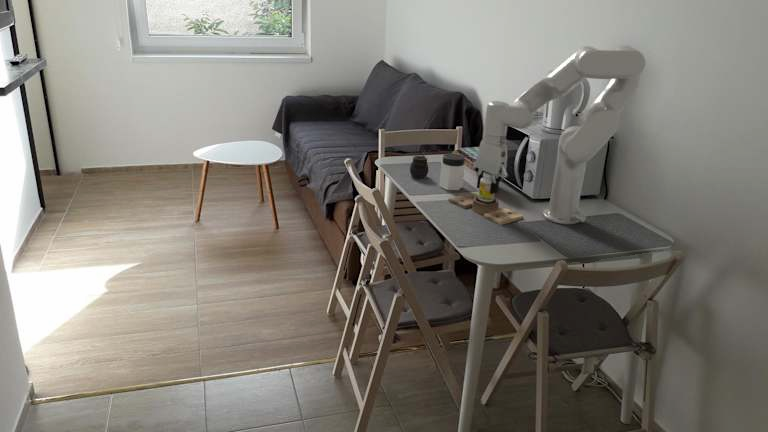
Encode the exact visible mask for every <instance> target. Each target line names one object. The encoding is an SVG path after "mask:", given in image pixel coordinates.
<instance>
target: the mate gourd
mask: <svg viewBox="0 0 768 432" xmlns="http://www.w3.org/2000/svg"><path fill="white" fill-rule="evenodd" d="M425 154H426V150H423V153H422V155H414V156H412V162H411V163H410V165H409V172H410V175H411V177H413V178H414V179H425V178H426V177H427V176H428V174H429V165H428V157H427V156H425Z"/></svg>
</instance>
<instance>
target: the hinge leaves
mask: <svg viewBox="0 0 768 432" xmlns="http://www.w3.org/2000/svg"><path fill="white" fill-rule="evenodd" d="M499 201H500V200H499V199H498V198H496V197H494V200H493V201H491V202H485V201H481V200H479V198H478V195H476V194H474V193H471V192H469V193H466V194H461V195H457V196H454V197H449V198H448V202H449V203H451V204H454V205H456V206H458V207H461V208H463V209H467V208H471V207H472V209H471V210H472V211H473V212H476V213H477V214H479V215H480V214H481V215H483V216H482V217H483V218H485V219H488V220H490V221H492V222H493V223H496V224H499V225H501V226H502V225H506V224H508V223H513V222H515V221H518V220H523V219H524V215H523V214H521V213H519V212H516V211H513V210H511V209H508V208H506V207H504V208H501V209H499V205H500V202H499Z"/></svg>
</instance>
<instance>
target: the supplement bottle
mask: <svg viewBox="0 0 768 432" xmlns="http://www.w3.org/2000/svg"><path fill="white" fill-rule="evenodd" d="M492 182H493V177H492V174H491V173H488V172H486V171H485V172H483V177H482V178H481V180H480V187H479V188H478V194H477V196H478V198H479V200H481V201H485V202H491V201H493V200H494V198H495V194H496V193H494V194H491V193H490V189H491V183H492Z"/></svg>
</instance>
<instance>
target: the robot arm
mask: <svg viewBox="0 0 768 432" xmlns="http://www.w3.org/2000/svg"><path fill="white" fill-rule="evenodd" d="M645 68H646V57H645V56H644V54H643V53H642V52H640V50H638V49H636V48H634V47H633V46H630V45H621V46H619V47H617V48H615V49H613V50H612V49H610V50H608V49H607V50H605V49H598V48H597V49H596V48H595V47H592V46H590V45H589V46H587V45H586V46H583V47H580V48H579V49H578V50H576V51H575V52H574V53H573V54H571V55H570V56H569V57H568V58H567V59H565V60H564V61H563V62H562V63H561V64H560V65H558V66H557V67H555V69H554V70H553V71H551V72H550V73H549V74H548V75H547V76H545V77H544V78H542V79H541V80H539V81H538V82H537V83H535V84H533V85H532V86H530V87H529V88H528V89H527V90H525V91H524V92H523V93H522V94H521V95H520V96H518V97H517V98H516V99H514V101H513V102H512V103H511V104H509V103H508V102H505V101H500V100H492V101H489V102H488V103H487V104H486V109H485V118H484V127H483V132H482V139H481V141H480V143H479V147H478V151H477V155H476V159H475V161H474V162H472V166H473V168H474V170H475V173H476V177H477V183H476V188H477V189H479V187H480V180H481V178H482V177H483V172H485V171H486V172H488V173H491V174H492V177H493V182H492V183H491V189H490V193H491V194H494V193H495V194H498V191H499V185H500V183H501V182H502V181H504V179H506V178H508V176H509V174H508V172H507V165H508V145H507V144H508V139H507V133H508V127H510V128H514V129H519V130H523V129H527V128H529V127H530V126H531V125H532V124H533V122H534V119H535V118H534V117H535V116H534V114H535V112H537V111H538V110H539V109H541V108H542V107H543V106H545V105H546V104H547V103H548V104H549V102H551V101H554V100H557V99H562V98H564V97H565V96H567V95H568V94H569V93H571V92H572V91H573V90H574V89H575V88H576V87H578V86H579V85H580V84H581V83H583V82H584V81H585V80H586V79H592V80H594V79H595V80H596V79H597V80H609V82H607V84H606V86H605V87H604V88H603V89H602V91H600V93H599V94H598V95H597V96H596V97H595V98H594V100H593V101H592V102H591V103H590V104H589V105H588V106H587V107H586V108H585V110H584V112H583V116H582V117H583V123H582V124H581V125H580V126H578V125H574V126H572V125H571V126H569V127H566V129H564V130H563V131H562V132H561V134H560V136H559V140H558V146H557V157H556V162H555V169H554V174H553V179H552V180H553V181H552V186H551V194H550V197H549V198H550V200H549V204H548V208H544V210H543V212H542V215H543V217H544V218H545V219H546V220H548V221H550V222H554V223H556V224H562V225H576V224H578V223H580V222H581V223H584V222H585V221H586V218H587V214H584V213H581V211H582V210H581V209H582V208H580V207H579V205H580V204H579V203H580V200H581V194H582V189H583V183H584V178H585V173H586V167H587V162H589V161H590V160H592V158H594V156H595V155H596V154H597V153H598V152H599V151H600V150H601V149H602V148H603V147H604V146H605V145H606V144H607V142H608V141H609V140H610V139H611V138H613V135H615V134H616V132H617V130H618V128H619V125H620V116H619V113H621V111H622V110H623V109H624V108H625V107H626V105H627V103H629V101H630V100H631V99H632V98H633V96H634V95H635V93H636V92H637V88H638V86H639V83H640V79H641V74H642V73H643V71H644V69H645ZM496 175H497V178H496ZM495 194H494V195H495Z"/></svg>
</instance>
